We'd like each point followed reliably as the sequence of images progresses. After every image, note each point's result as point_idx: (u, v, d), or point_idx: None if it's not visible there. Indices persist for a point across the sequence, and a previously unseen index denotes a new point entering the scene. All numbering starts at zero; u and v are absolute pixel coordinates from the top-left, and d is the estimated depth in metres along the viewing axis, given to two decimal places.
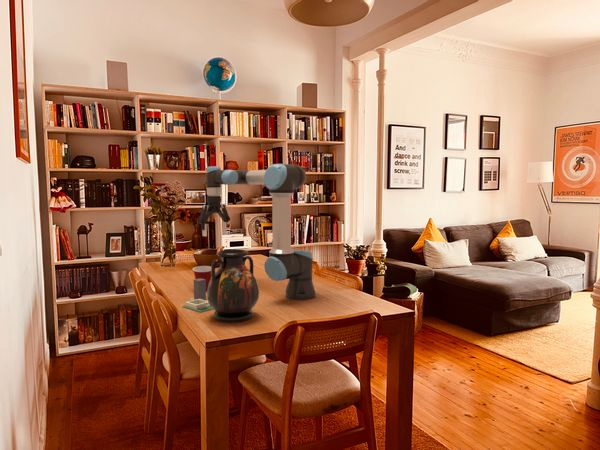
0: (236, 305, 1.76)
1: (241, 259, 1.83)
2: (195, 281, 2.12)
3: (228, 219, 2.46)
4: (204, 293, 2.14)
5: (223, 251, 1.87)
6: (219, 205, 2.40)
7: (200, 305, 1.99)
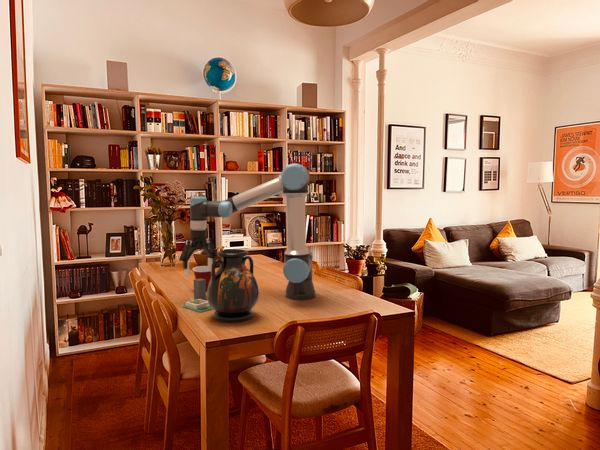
0: (236, 305, 1.76)
1: (241, 259, 1.83)
2: (195, 281, 2.12)
3: (214, 255, 2.18)
4: (204, 293, 2.14)
5: (223, 251, 1.87)
6: (204, 240, 2.13)
7: (200, 305, 1.99)
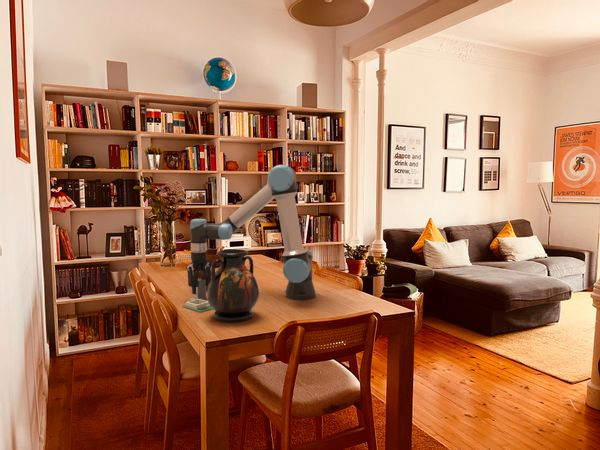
0: (236, 304, 1.76)
1: (241, 259, 1.83)
2: None
3: (208, 281, 2.16)
4: (204, 293, 2.14)
5: (223, 251, 1.87)
6: (205, 261, 2.14)
7: (200, 305, 1.99)
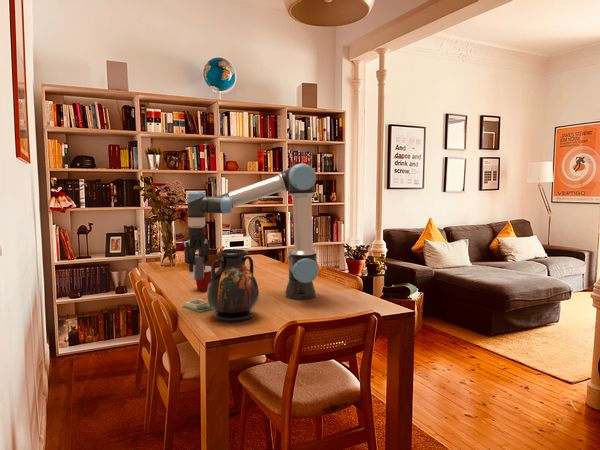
0: (236, 305, 1.76)
1: (241, 259, 1.83)
2: None
3: (206, 259, 2.03)
4: (202, 271, 2.01)
5: (223, 251, 1.87)
6: (203, 237, 2.01)
7: (200, 305, 1.99)
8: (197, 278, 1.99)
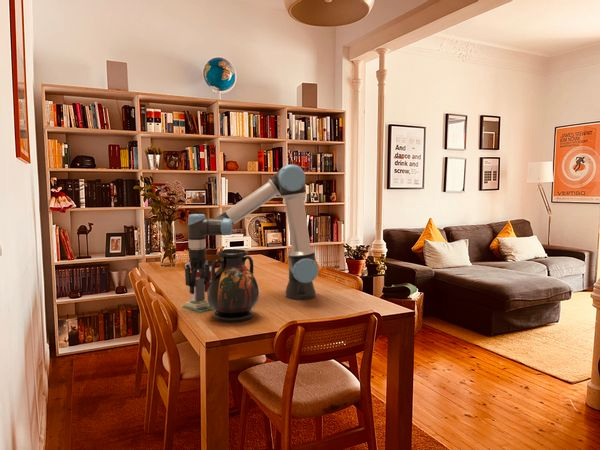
0: (236, 305, 1.76)
1: (241, 259, 1.83)
2: None
3: (207, 280, 2.04)
4: (202, 293, 2.02)
5: (223, 251, 1.87)
6: (204, 259, 2.02)
7: (200, 305, 1.99)
8: (198, 300, 2.00)
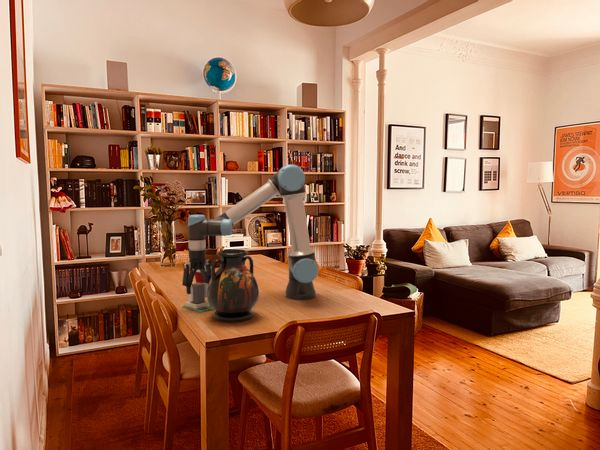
0: (236, 305, 1.76)
1: (241, 259, 1.83)
2: (193, 285, 2.01)
3: None
4: (203, 298, 2.02)
5: (223, 251, 1.87)
6: (204, 260, 2.02)
7: (200, 305, 1.99)
8: None
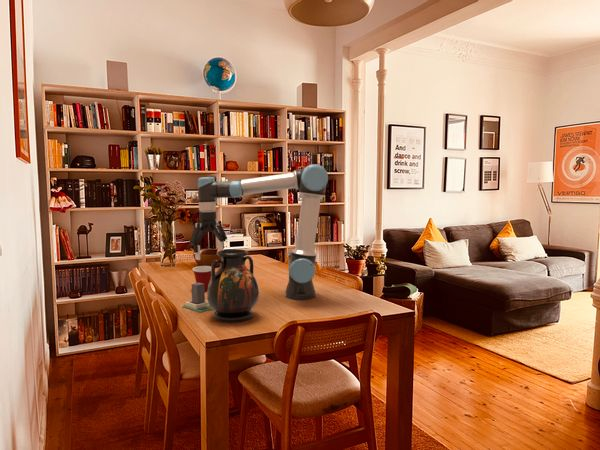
0: (236, 305, 1.76)
1: (241, 259, 1.83)
2: (193, 285, 2.01)
3: (225, 238, 2.10)
4: (203, 298, 2.02)
5: (223, 251, 1.87)
6: (214, 222, 2.05)
7: (200, 305, 1.99)
8: None
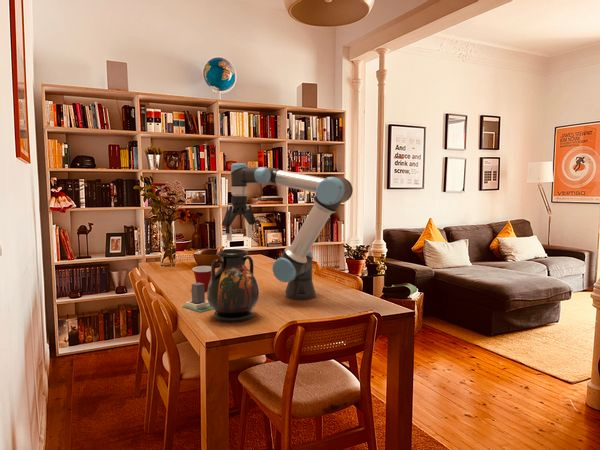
0: (236, 305, 1.76)
1: (241, 259, 1.83)
2: (193, 285, 2.01)
3: (254, 221, 2.23)
4: (203, 298, 2.02)
5: (223, 251, 1.87)
6: (245, 206, 2.18)
7: (200, 305, 1.99)
8: None
